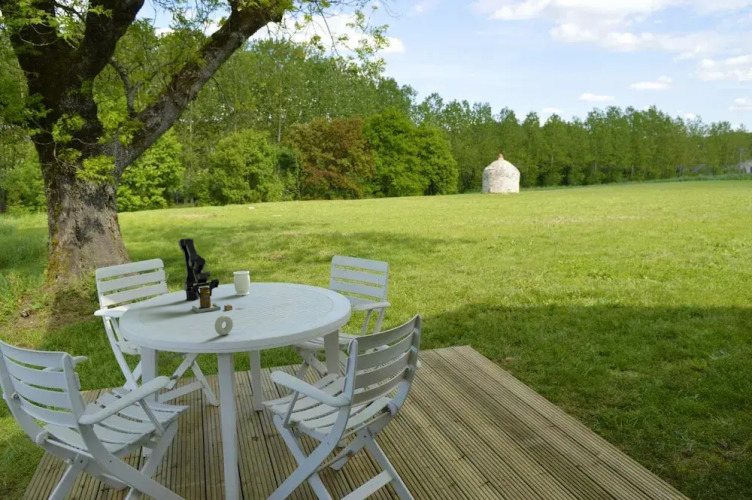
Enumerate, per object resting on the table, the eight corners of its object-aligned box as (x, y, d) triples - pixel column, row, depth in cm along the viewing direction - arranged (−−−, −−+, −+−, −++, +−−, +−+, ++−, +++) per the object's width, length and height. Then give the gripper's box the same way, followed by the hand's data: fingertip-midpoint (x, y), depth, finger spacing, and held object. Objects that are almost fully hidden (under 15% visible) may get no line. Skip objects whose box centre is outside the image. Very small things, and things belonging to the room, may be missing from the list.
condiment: (212, 305, 330) (210, 285, 328) (211, 308, 322) (210, 288, 320) (199, 306, 328) (197, 286, 326) (198, 310, 320) (196, 289, 318)
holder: (192, 309, 327) (192, 306, 327) (214, 305, 333) (214, 302, 333) (197, 313, 316) (197, 310, 316) (220, 309, 322) (220, 306, 322)
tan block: (224, 309, 323) (224, 305, 322) (229, 308, 325) (228, 304, 324) (227, 310, 320) (227, 306, 319) (232, 309, 322) (232, 305, 321)
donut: (218, 338, 265) (216, 317, 263) (213, 336, 267) (212, 316, 265) (235, 332, 272) (233, 313, 271) (230, 331, 275) (229, 312, 273)
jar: (248, 296, 358) (247, 273, 356) (232, 296, 358) (231, 273, 356) (252, 292, 368) (251, 270, 367) (237, 293, 369) (235, 270, 367)
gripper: (184, 269, 320) (190, 291, 313) (217, 265, 330) (223, 286, 322) (182, 280, 328) (188, 302, 320) (214, 276, 338) (220, 297, 330)
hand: (205, 296), depth 323 cm, fingers closed on condiment, 6 cm apart
